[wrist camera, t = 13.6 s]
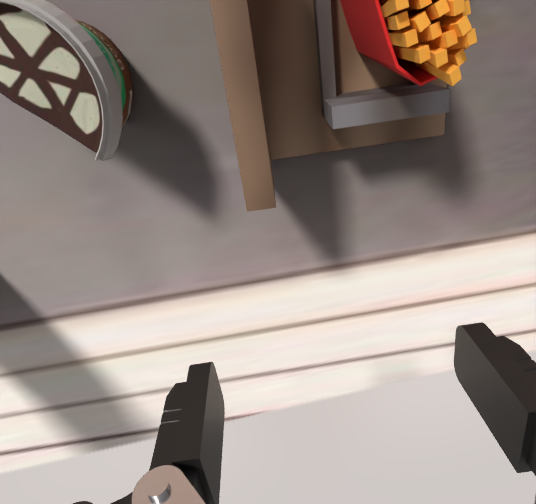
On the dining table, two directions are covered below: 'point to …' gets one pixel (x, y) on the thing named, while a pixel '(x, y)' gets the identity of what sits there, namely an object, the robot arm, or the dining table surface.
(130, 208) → the dining table surface
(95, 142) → the food container
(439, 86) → the wooden shelf
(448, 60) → the french fries
